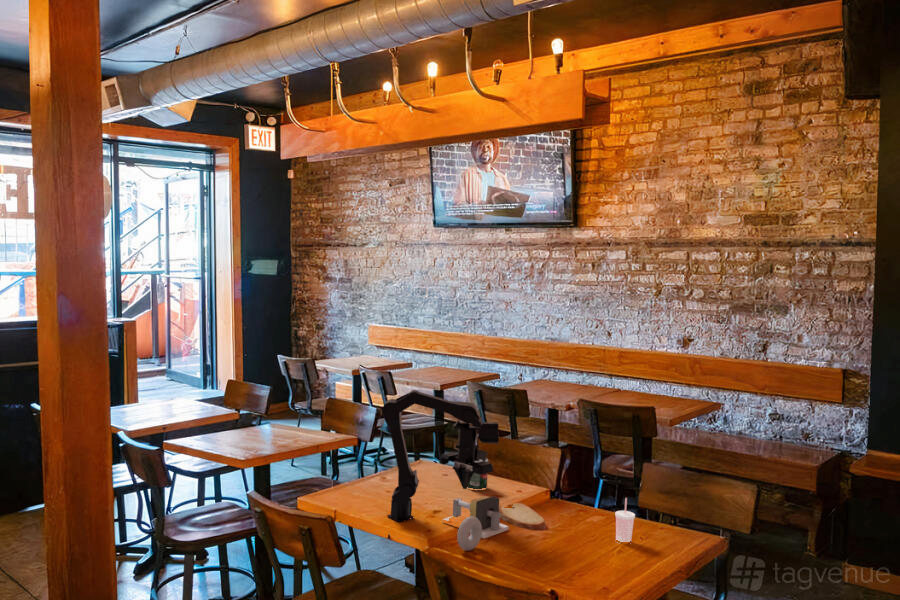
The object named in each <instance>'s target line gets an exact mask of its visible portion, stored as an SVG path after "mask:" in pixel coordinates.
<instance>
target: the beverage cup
mask: <svg viewBox="0 0 900 600" xmlns="http://www.w3.org/2000/svg"><path fill="white" fill-rule="evenodd" d="M627 504H628V497H625V499H624V510H617V511H615V515H614V516H615V541H616V540H618V541H620V542H630V541H631V542H632V536H633V529H634V521H635V517H636V514H635V513H634V512H632V511H629V510H627Z"/></svg>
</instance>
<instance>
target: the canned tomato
mask: <svg viewBox="0 0 900 600" xmlns="http://www.w3.org/2000/svg"><path fill="white" fill-rule="evenodd" d="M482 461H483V460H480V459H479V461H475V462H476V463H478V462H482ZM485 462H488V463H489V459H488V458H486V461H485ZM488 475H489V473H486V474H483V475H480V474H477V473H474V474H473V476H472V477H471V480H470V482H469V485H468V488H473V489H482V488H486V487H487V488H488Z"/></svg>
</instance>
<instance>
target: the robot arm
mask: <svg viewBox="0 0 900 600" xmlns="http://www.w3.org/2000/svg"><path fill="white" fill-rule="evenodd" d="M414 405H418V406H421V407H425V408H428V409H432V410H435V411H439V412H442V413H445V414H448V415H450V416H452V417H454V418H455V419H457V421H456V422H455V423H454V424H453V429H457V430H458V442H457V443H458V444H455V449H457V453H456V452H452V451H451V452H445V453H442V454H441V455H440V457H439V458H440V460H439V461H440V462H439V463H440V464H443V465H448V464H449V463H450V462H451V463H453V464H454V465H453V466H452V470H454V472H455V474H456V476H457V477H458V480H459V482H460V485H461V487H462V489H463V490H468V489H467V487H468V485H469V482H470V480H471V477H472V476H473V474H474V473H477V474H480V475H483V474H486V473H488V474H490V473H493V472H494V465H493V464H492V463H491V462H489V461H488V462H485V461H486V459H487V456H488V452H487V451H485V450H482V449H479V445H478V444H477V440H479V442H480V443H481V444H496V445H498V444H499V439H500V433H499V422H494V421H493V422H485V421H483V420H482V418H481V417H480V416H479V414H478V409H477V406H476V405H475V404H474V403H472V402H469V401H468V402H467V401H452V400H448V399H444V398H443V397H438V396H434V395H432V394H428V393H424V392H421V391H420V390H417V389H413V390H411V391H409V392H408V393H406V394H404V395H402V396H399V397H397V398H391V399H388V400H386V401H385V403H384V404H383V407H382V408H381V414H382V417H383V419H384V421H385V424H386V426H387V427H388V429H389V433H390V436H391V442H392V446H393V451H394V457H395V461H396V466H397V469H398V471H397V472H398V474H397V475H398V476H397V477H398V479H397V483H398V484H397V486H396V487H395V488H394V490H393V492H392V496H391V500H390V502H391V503H390V514H388V515H387V518H389V519H391V520H394V521H397V522H399V523H402V522H405V521H404V520H406V521H408V520H407V519H409V520H411V519H410V518H412V519H414V518H415V516H414V515H412V509H413V508H412V506H413V502H412V497H414V496H415V494H416V493H417V489H418V487H419V483H420V480H419V478H418V471H417V469H415V470H413V469H412V467H411V465H410V460H409V455H408V450H407V446H406V442H405V437H404V432H403V427H402V419H403V418H402V417H403V414H402V412H403V411H405V410H407V409H408V408H409V407H412V406H414ZM470 424H471V425H470ZM477 431H478V433H477ZM479 459H480V460H483V461H482V462H478V463H476V462H475V461H479ZM413 517H414V518H413ZM401 521H402V522H401Z"/></svg>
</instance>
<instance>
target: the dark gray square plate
mask: <svg viewBox="0 0 900 600" xmlns="http://www.w3.org/2000/svg"><path fill="white" fill-rule="evenodd" d="M488 497H489V496H488ZM499 507H500V497H497V496H494V495H492V496H490V497H489V498H486V499H483V500H480V501H477V502H476V518H478V520H479V521H480V522H481V526H482V529H484V528H487V527H490V526H491V517H490V516H487V509H488V510H490V511H493V512H496V511H497V512H499Z"/></svg>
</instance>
